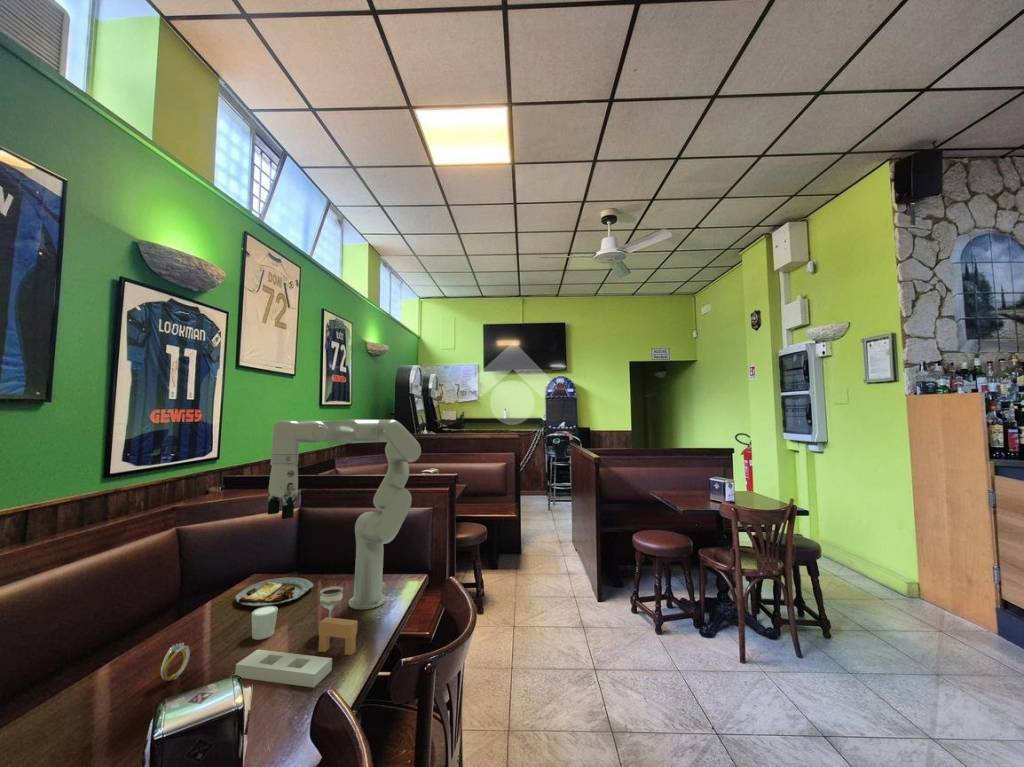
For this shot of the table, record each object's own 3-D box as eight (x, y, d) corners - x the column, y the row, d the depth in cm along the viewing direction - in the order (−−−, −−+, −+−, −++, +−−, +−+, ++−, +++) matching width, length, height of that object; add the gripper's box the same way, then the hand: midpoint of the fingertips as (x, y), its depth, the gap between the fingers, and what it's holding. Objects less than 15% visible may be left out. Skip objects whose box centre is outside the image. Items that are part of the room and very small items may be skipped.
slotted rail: (256, 661, 108) (257, 649, 109) (331, 670, 105) (332, 658, 105) (234, 677, 101) (236, 664, 102) (314, 687, 98) (314, 674, 98)
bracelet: (181, 670, 104) (185, 637, 105) (192, 671, 103) (195, 638, 104) (154, 687, 97) (157, 651, 98) (165, 688, 97) (169, 652, 97)
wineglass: (325, 638, 120) (328, 596, 122) (312, 632, 124) (315, 591, 125) (345, 629, 126) (348, 589, 127) (332, 623, 129) (335, 584, 131)
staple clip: (323, 646, 116) (325, 617, 117) (356, 650, 114) (357, 620, 115) (317, 652, 113) (319, 622, 114) (350, 656, 111) (351, 625, 112)
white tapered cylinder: (263, 642, 118) (265, 616, 119) (243, 639, 119) (246, 614, 120) (281, 630, 125) (283, 606, 125) (262, 628, 126) (264, 604, 127)
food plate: (285, 612, 137) (286, 601, 137) (218, 610, 138) (219, 600, 138) (322, 584, 162) (322, 575, 162) (265, 582, 163) (265, 573, 163)
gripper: (310, 461, 124) (305, 518, 122) (284, 457, 135) (280, 510, 133) (284, 462, 119) (279, 522, 117) (260, 458, 129) (255, 514, 127)
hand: (280, 516), depth 125 cm, fingers open, 9 cm apart
